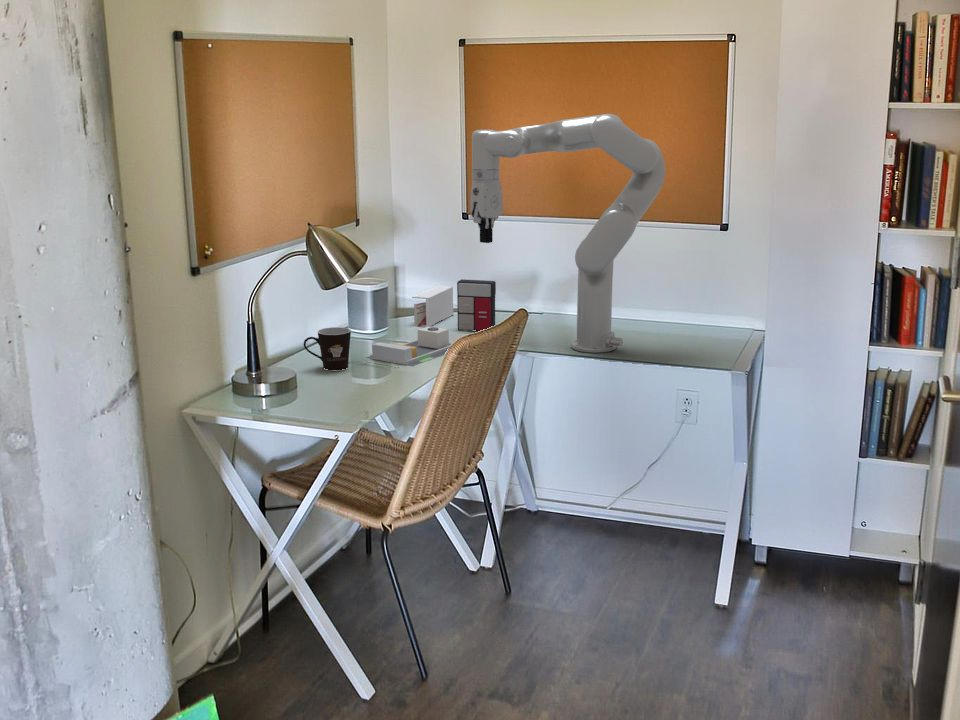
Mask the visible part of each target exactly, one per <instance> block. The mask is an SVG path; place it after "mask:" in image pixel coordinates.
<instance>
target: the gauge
mask: <svg viewBox="0 0 960 720" xmlns="http://www.w3.org/2000/svg"><path fill="white" fill-rule="evenodd" d="M449 331H450V329H447V328H440V327H435V326H430V327H429V326H428V327H421V328H418V329H417V339H418V346H423V347H429V348H435V349H439V348H442V347H445V346H448V345H449V343H450V341H449V340H450V339H449V338H450V337H449V336H450V335H449Z"/></svg>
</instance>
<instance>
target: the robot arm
mask: <svg viewBox="0 0 960 720" xmlns="http://www.w3.org/2000/svg"><path fill="white" fill-rule="evenodd" d="M590 149H601V150H602V151H603V152H605V153H606V154H607V155H608V156H610V157H612V158H613V159H614V160H616V161H617V162H619V163H620V164H621V165H623V166H624V167H626V168H627V169H628V170H630V171H631V172H632V175H631V177H630V179H629V181H628V182H627V183H626V184H625V186H624V187H623V188H622V191H620V193H619V195H617V197H616V198H615V200H614V201H613V202H612V203H611V204H610V206H609V207H608V208H607V209H605V211H604V212H603V213H602V215H601V216H600V217H599V218H598V220H597V221H596V223H595V224H594V226H593V227H592V229H591V230H590V231H589V232H588V234H587V235H586V237H584V239H583V240H582V241H581V242H580V244H579V245H578V247H577V249H576V250H575V253H574V255H575V256H574V261H575V265H576V267H577V269H578V270H577V297H576V299H577V302H576V303H577V304H576V305H577V306H576V309H577V310H576V339H575V340H574V341H571V344H570V347H571V349H572V350H574V351H578V352H582V353H590V354H591V353H594V354H595V353H607V352H612V351H614V350H616V348H617V347H622V346H623V345H624V339H623V338H622V337H616V336H615V334H616V333H615V331H612V315H613V314H612V311H613V310H612V309H613V306H612V305H613V277H614V275H613V274H614V261H615V259H616V257H617V256H618V255H619V253H620V252H621V251H622V250H623V248H624V246H625V245H626V244H627V242H629V241H630V239H631V238H632V236H633V234H634V233H635V230H636V227H637V225H638V223H639V222H640V221H641V219H642V218H643V216H644V215H645V213H646V212H647V211H648V210H649V208H650V206H651V205H652V204H653V203H654V201H655V199H656V198H657V196H658V195H659V194H660V191H661V189H662V187H663V185H664V181H665V176H666V162H665V159H664V156H663V153H662V151H661V149H660V147H659V145H658V144H656V142H654V140H652V139H649V138H643V137H642V136H641V135H640V134H638V133H637V132H635V131H633V130H632V129H631V128H629V127H628V126H627V125H626V124H625V123H623V121H622V119H621V118H620V117H619V116H618V115H616V114H613V113H602V114H597V115H596V114H595V115H590V116H582V117H575V118H568V119H561V120H557V121H553V122H550V123H543V124H542V123H541V124H538V125H537V124H535V125H531V126H529V125H528V126H522V127H515V128H510V129H505V130H499V131H497V130H495V129H476V130H474V131H473V132H472V134H471V182H472V183H471V190H470V201H469V202H470V207H469V208H470V209H469V210H470V216H471V217H472V218H473V219H472V221H473V223H474V224H477V226H478V229H479V243H485V244H490V243H493V228H494V225H495V221H497V220H498V219H499V217H500V216H502V215H503V214H504V213H503V212H504V201H503V189H502V182H501V179H500V157H502V158H509V159H514V158H517V157H519V156H522V155H530V154H531V155H532V154H538V153H544V152H548V153H549V152H558V153H569V152H577V151H583V150H584V151H585V150H590Z"/></svg>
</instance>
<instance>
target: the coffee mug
mask: <svg viewBox="0 0 960 720" xmlns="http://www.w3.org/2000/svg"><path fill="white" fill-rule="evenodd" d="M351 335H352V330H351V329H350V328H348V327H342V326H341V327H340V326H339V327H338V326H335V327H334V326H332V327H325V328H321V329H318V330H317V337H314V336H309V337H307V338H305V339H304V340H303V347H304V349H305V351H307V352H308V353H309V354H311V355H313V356H315V357H316V358H318V359H320V361H322V362H321V363H322V366H323V367H322V368H323V369H324V368H325V369H328V370H342V369H346V368H349V359H350V349H351V347H350V346H351V345H350V344H351ZM309 340H314V341H316V343H317V344H318V345H319V347H320V348H319V349H320V355H319V354H316V353H314V352H312V351H311V350H310V349H308V347H307V346H306V344H307V342H308V341H309ZM346 370H347V369H346ZM342 371H343V370H342Z"/></svg>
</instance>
